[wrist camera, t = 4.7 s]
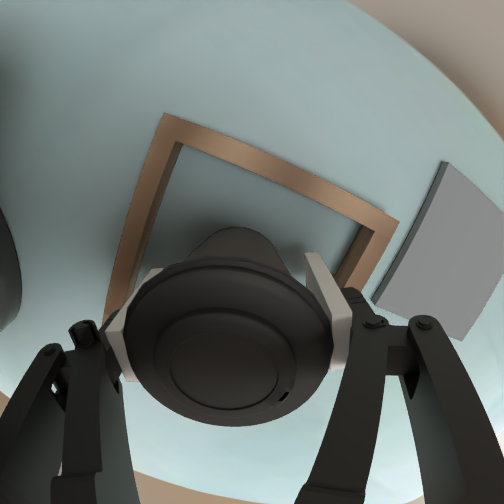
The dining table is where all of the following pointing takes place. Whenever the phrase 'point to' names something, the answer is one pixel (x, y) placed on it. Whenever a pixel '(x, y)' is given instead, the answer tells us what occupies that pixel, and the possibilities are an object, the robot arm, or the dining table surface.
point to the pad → (448, 257)
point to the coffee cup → (228, 334)
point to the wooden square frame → (184, 132)
